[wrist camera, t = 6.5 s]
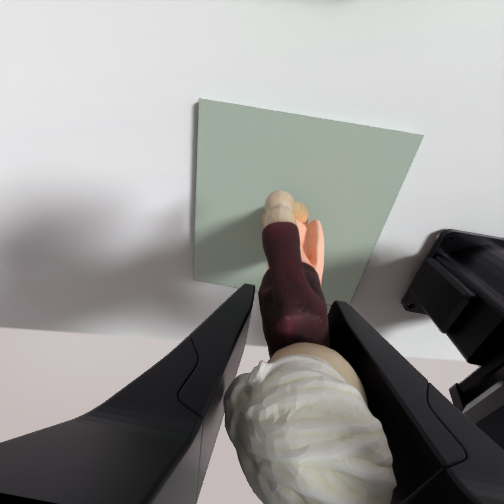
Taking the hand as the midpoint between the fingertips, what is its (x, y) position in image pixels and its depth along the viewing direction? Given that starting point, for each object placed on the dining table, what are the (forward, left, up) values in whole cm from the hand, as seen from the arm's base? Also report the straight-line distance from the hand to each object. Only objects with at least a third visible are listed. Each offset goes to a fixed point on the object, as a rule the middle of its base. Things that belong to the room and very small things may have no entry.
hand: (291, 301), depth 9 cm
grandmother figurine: (0, 0, -7) cm, 7 cm away
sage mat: (0, 0, -9) cm, 9 cm away
